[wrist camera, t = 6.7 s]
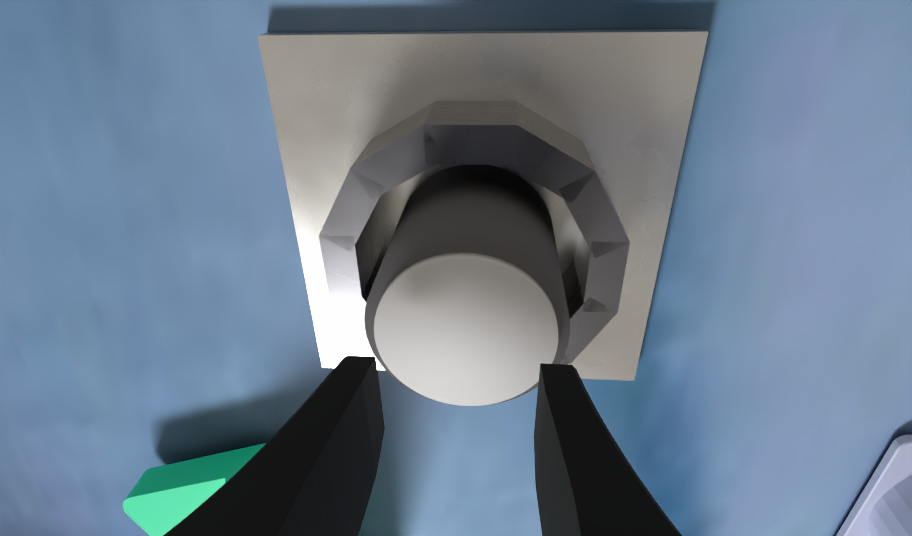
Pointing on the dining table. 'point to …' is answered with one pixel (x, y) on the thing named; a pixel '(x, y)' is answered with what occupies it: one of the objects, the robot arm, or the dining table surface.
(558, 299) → the gray cylindrical peg
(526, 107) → the white square plate
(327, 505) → the robot arm
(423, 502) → the dining table surface
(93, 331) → the dining table surface
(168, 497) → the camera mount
